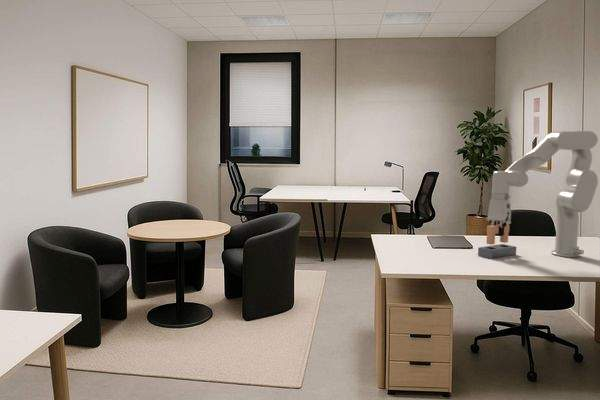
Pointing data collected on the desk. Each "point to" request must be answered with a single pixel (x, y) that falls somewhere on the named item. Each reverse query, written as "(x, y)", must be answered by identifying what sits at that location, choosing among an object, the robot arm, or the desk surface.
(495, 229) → the tan block
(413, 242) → the desk surface
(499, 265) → the desk surface
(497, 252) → the dark gray slotted block
